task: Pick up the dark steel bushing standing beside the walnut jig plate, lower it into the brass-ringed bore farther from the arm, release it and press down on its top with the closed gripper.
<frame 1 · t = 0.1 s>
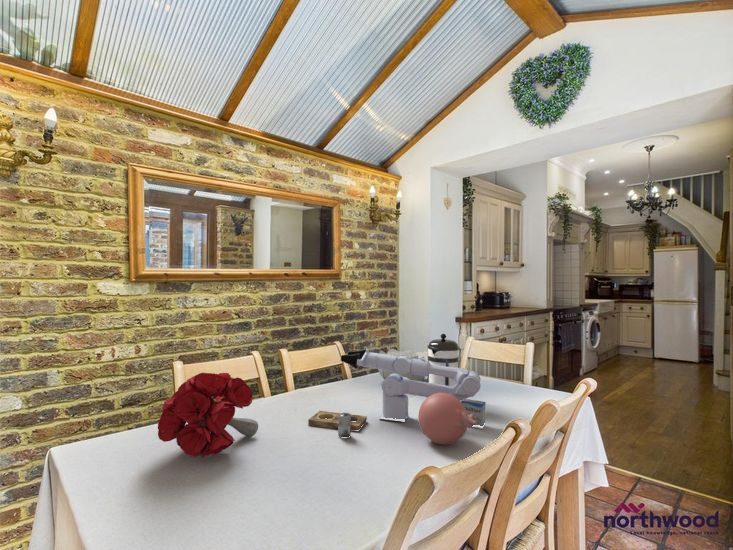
hand: (344, 356, 149), 22 cm above the table, tool horizontal, fingers open, 7 cm apart
bushing: (344, 436, 126), on the table
decorative bowl: (404, 384, 193), on the table
balloon: (448, 445, 120), on the table
medicine box: (472, 426, 137), on the table
coffee press: (443, 407, 158), on the table
bouquet: (214, 450, 114), on the table
jig plate: (337, 423, 137), on the table
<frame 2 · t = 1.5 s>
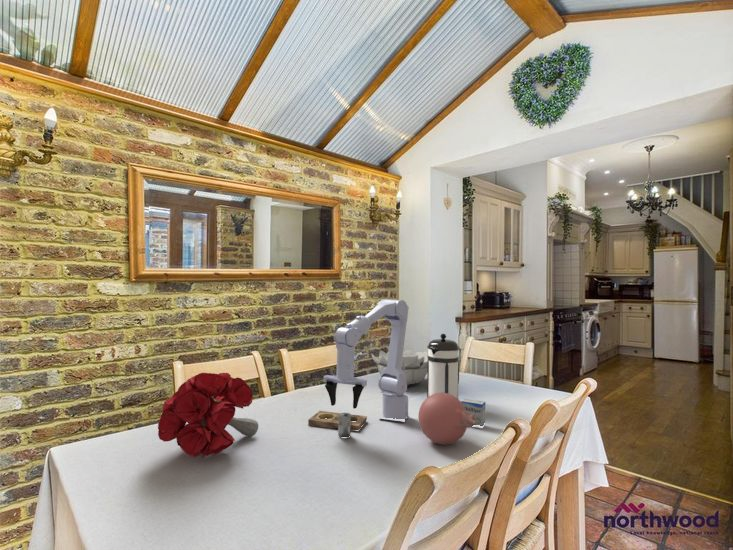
hand: (344, 406, 126), 10 cm above the table, tool pointing down, fingers open, 7 cm apart
nothing on the table moved.
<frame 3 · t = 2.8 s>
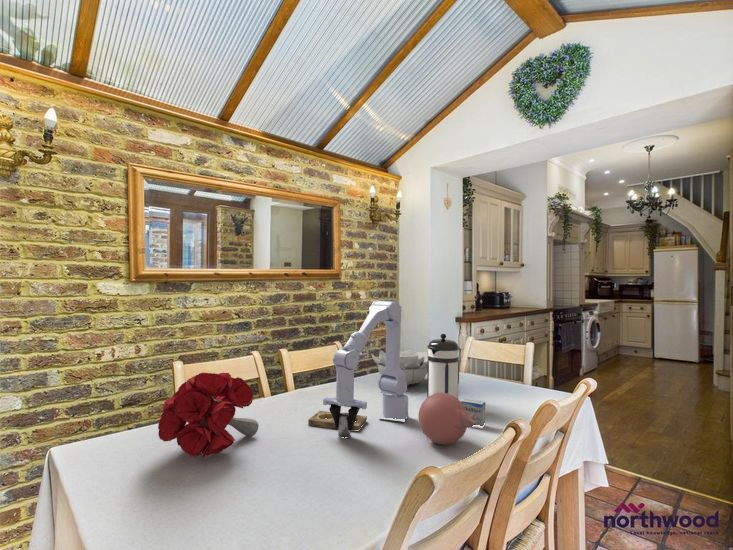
hand: (344, 428, 126), 2 cm above the table, tool pointing down, fingers closed on bushing, 4 cm apart
bushing: (344, 436, 126), on the table, touching gripper
everything else where it was.
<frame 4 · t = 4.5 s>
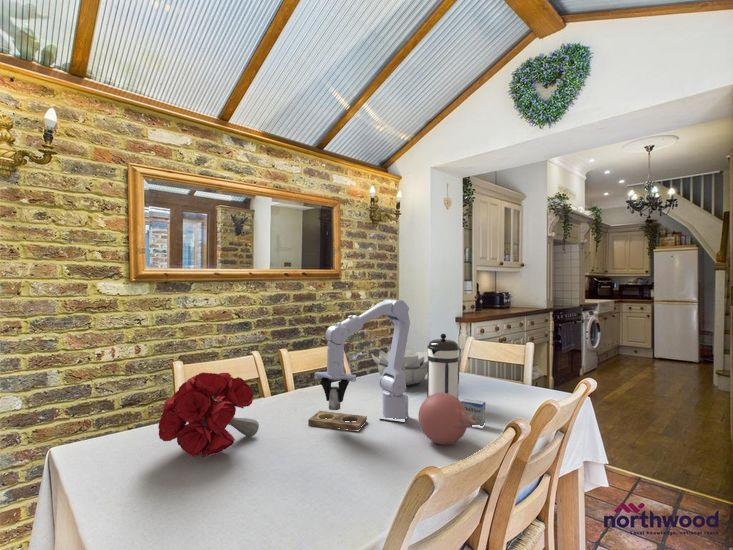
hand: (334, 400, 133), 9 cm above the table, tool pointing down, fingers closed on bushing, 4 cm apart
bushing: (334, 408, 132), point 7 cm above the table, touching gripper
everything else where it was.
when the fingers open (3 cm above the table, at t = 6.5 s): bushing stays where it is, resting in jig plate.
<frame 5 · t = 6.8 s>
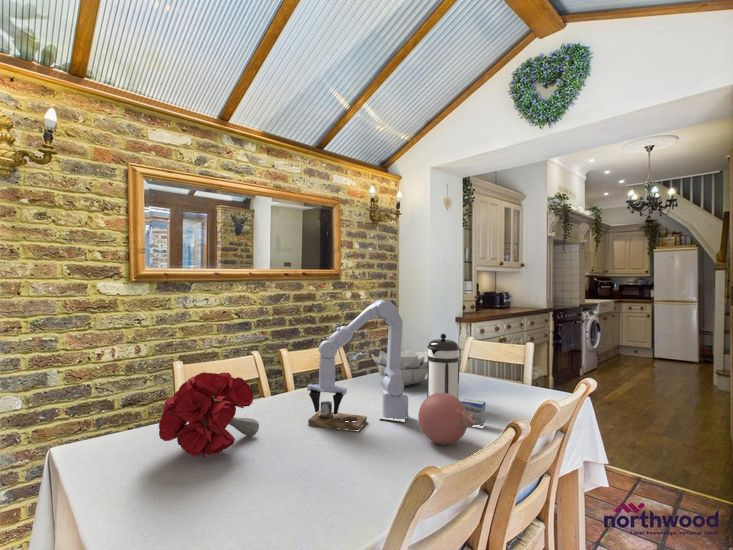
hand: (326, 412, 138), 3 cm above the table, tool pointing down, fingers open, 7 cm apart
bushing: (326, 422, 138), resting in jig plate
everything else where it was.
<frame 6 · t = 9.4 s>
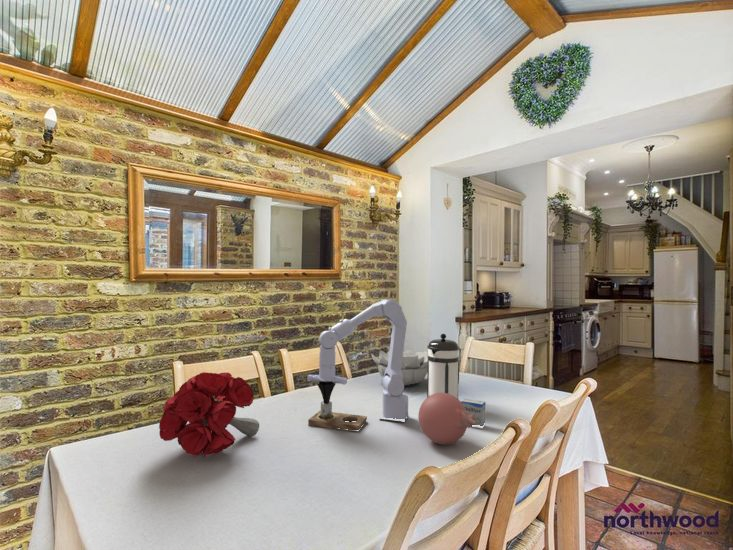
hand: (326, 402, 138), 7 cm above the table, tool pointing down, fingers closed, pressing on bushing
bushing: (326, 422, 138), resting in jig plate, touching gripper
everything else where it was.
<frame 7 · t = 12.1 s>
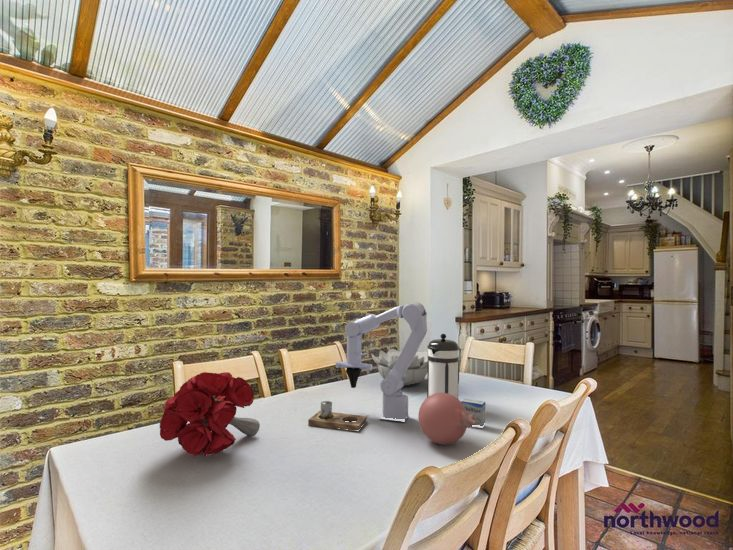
hand: (353, 387, 150), 9 cm above the table, tool pointing down, fingers closed
bushing: (326, 422, 138), resting in jig plate
everything else where it was.
at the end: bushing 0.2 cm from the target spot on the jig plate, point 0.0 cm above the jig plate's base; bushing tilted 0°; the gripper is holding nothing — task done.
